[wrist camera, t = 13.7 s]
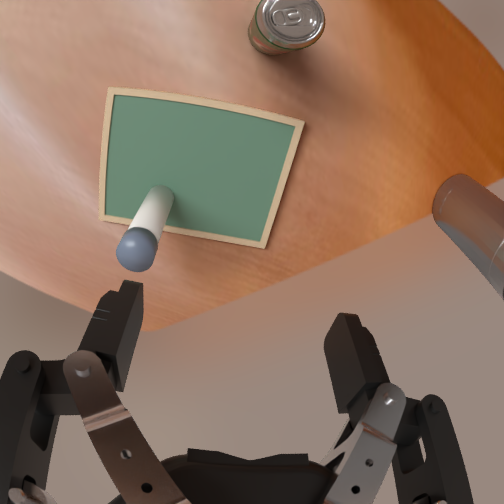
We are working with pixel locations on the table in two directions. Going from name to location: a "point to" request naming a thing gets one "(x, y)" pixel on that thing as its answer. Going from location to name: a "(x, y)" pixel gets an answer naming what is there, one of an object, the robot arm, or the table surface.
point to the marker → (145, 230)
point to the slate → (196, 162)
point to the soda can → (286, 25)
